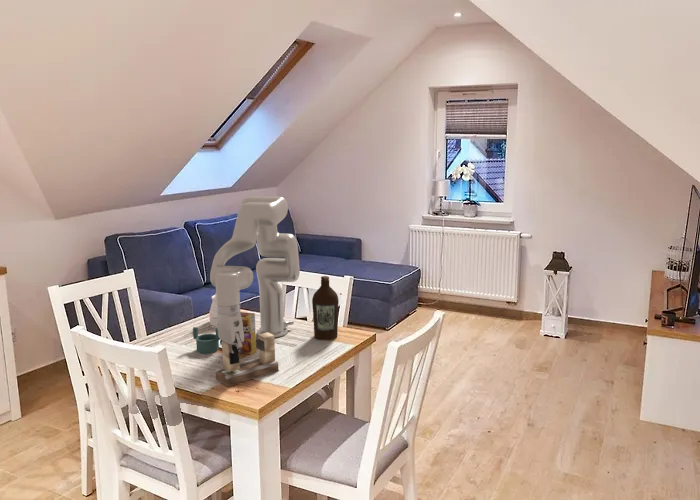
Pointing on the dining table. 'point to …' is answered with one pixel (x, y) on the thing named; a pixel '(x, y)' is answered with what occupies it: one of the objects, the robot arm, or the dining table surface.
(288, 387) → the dining table surface
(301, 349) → the dining table surface
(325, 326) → the olive oil
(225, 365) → the tan block
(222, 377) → the rail
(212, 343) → the green cup
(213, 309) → the honey pot
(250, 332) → the candy box
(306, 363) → the dining table surface
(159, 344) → the dining table surface
